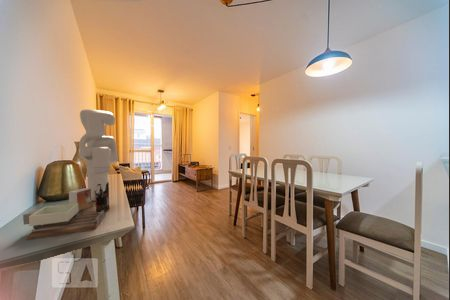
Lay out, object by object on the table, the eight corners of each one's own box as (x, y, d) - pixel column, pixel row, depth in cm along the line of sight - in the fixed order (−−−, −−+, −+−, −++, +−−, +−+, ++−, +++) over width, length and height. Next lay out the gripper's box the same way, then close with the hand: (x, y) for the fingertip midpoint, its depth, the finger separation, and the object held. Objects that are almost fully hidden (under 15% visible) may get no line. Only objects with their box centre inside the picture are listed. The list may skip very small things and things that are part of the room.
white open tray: (36, 221, 74) (35, 207, 74) (78, 215, 80) (78, 203, 79) (19, 232, 65) (18, 217, 64) (68, 225, 70) (67, 211, 70)
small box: (77, 212, 89) (76, 192, 89) (69, 210, 90) (68, 191, 90) (92, 206, 97) (91, 188, 96) (84, 205, 98) (83, 187, 98)
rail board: (48, 222, 77) (48, 215, 77) (105, 215, 85) (104, 208, 85) (26, 239, 64) (25, 231, 64) (95, 229, 72) (95, 221, 72)
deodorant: (98, 208, 93) (97, 182, 92) (110, 207, 96) (109, 181, 95) (94, 213, 88) (93, 185, 87) (107, 211, 90) (106, 184, 89)
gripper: (98, 167, 97) (99, 198, 98) (86, 173, 81) (88, 209, 82) (113, 167, 100) (114, 196, 101) (105, 172, 84) (106, 207, 85)
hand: (102, 202), depth 91 cm, fingers closed on deodorant, 5 cm apart
